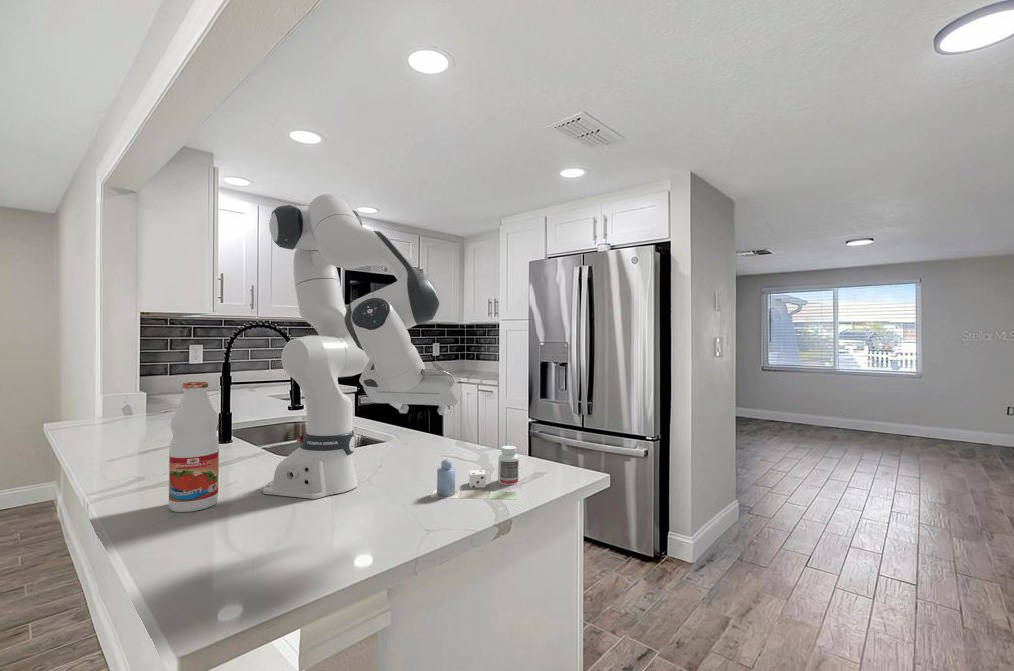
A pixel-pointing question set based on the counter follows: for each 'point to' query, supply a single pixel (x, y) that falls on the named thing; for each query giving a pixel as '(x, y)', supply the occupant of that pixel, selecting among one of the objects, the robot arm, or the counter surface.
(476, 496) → the track
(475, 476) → the die
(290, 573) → the counter surface
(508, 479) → the pill bottle
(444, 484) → the pawn
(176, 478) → the fruit juice
